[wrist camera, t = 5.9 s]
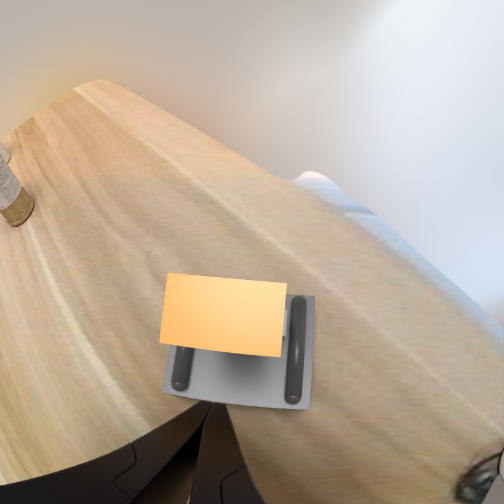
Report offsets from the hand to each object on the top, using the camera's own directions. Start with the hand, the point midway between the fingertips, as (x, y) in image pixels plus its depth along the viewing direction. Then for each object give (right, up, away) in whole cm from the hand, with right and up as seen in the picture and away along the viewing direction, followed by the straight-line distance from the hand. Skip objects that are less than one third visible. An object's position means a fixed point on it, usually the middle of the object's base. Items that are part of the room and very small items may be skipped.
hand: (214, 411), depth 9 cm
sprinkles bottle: (-27, +10, +20) cm, 35 cm away
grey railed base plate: (+1, -2, +12) cm, 12 cm away
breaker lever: (+1, +1, +9) cm, 9 cm away
